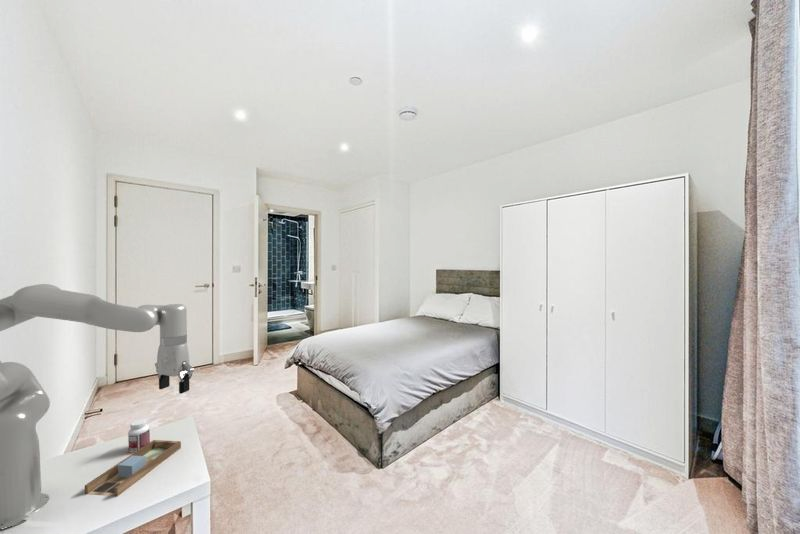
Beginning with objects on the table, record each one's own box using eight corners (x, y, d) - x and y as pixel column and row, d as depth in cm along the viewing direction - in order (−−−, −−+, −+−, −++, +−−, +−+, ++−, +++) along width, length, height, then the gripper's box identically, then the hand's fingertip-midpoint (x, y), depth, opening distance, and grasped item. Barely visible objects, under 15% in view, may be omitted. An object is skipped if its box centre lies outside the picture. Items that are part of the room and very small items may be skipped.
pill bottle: (150, 443, 122) (149, 416, 122) (150, 451, 118) (149, 422, 117) (129, 450, 119) (128, 421, 118) (128, 458, 114) (127, 428, 113)
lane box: (84, 496, 95) (84, 485, 95) (154, 448, 119) (153, 439, 119) (117, 499, 94) (117, 488, 94) (181, 450, 118) (180, 441, 118)
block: (118, 477, 102) (117, 465, 102) (132, 466, 107) (132, 455, 107) (132, 478, 102) (131, 466, 102) (146, 467, 107) (145, 456, 107)
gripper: (144, 340, 107) (145, 390, 107) (180, 345, 101) (181, 398, 102) (167, 335, 114) (167, 382, 114) (202, 340, 108) (202, 389, 109)
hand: (174, 389), depth 108 cm, fingers open, 9 cm apart
